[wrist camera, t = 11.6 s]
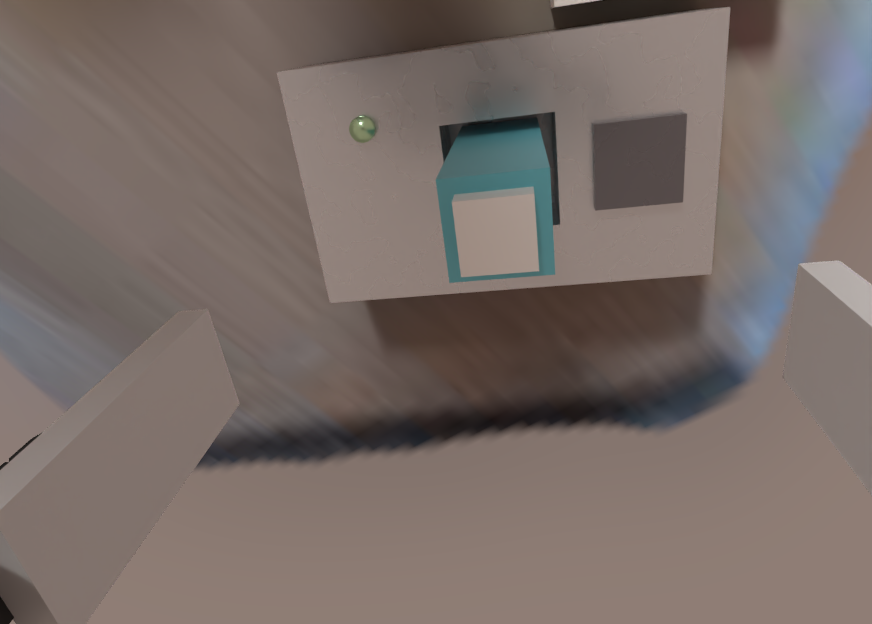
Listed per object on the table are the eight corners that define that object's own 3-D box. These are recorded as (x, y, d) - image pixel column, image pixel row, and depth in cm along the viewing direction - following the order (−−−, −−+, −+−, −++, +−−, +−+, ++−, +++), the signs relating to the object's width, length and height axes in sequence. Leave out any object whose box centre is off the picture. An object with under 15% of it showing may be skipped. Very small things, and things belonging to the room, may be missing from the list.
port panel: (352, 269, 37) (327, 306, 32) (309, 65, 32) (272, 72, 27) (685, 241, 34) (714, 278, 29) (696, 9, 29) (734, 6, 24)
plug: (469, 199, 33) (446, 293, 22) (461, 126, 32) (432, 186, 20) (541, 192, 33) (556, 285, 21) (537, 117, 31) (551, 174, 19)
